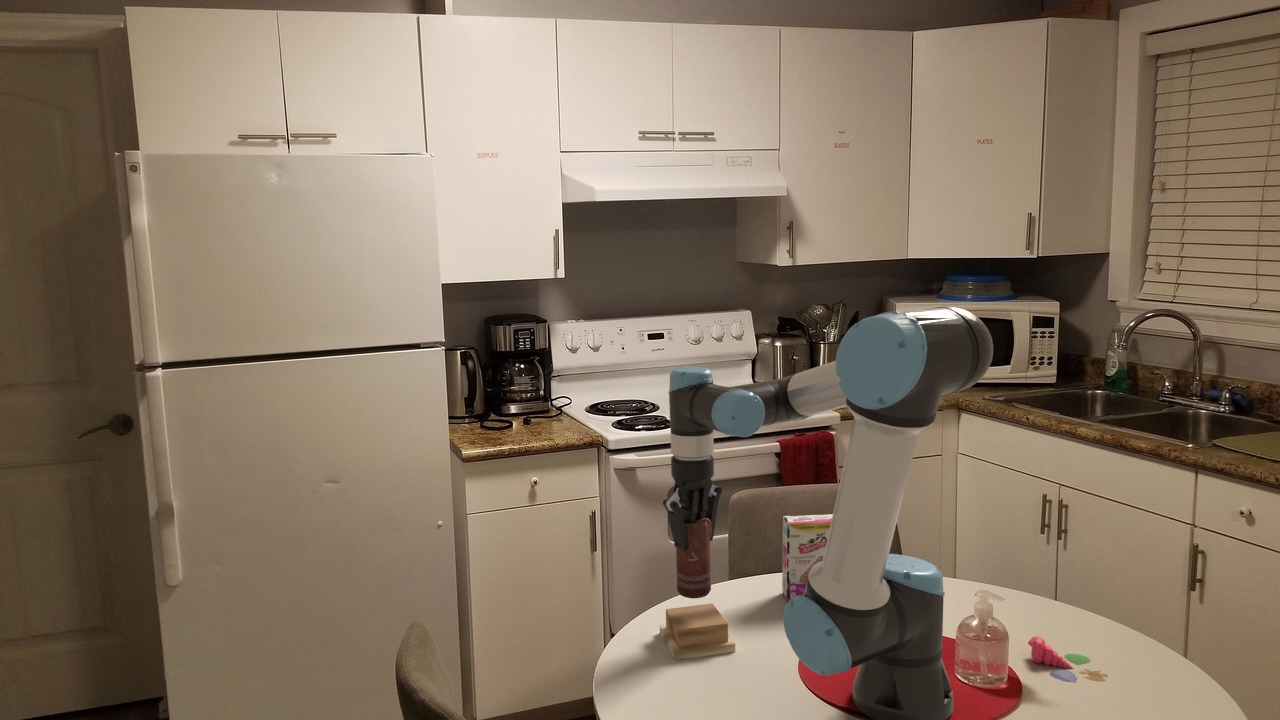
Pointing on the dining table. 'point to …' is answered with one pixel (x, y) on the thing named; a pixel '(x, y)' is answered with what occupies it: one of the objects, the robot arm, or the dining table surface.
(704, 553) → the can
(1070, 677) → the toy pieces
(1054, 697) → the dining table surface
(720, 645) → the stand
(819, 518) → the candy bar box
